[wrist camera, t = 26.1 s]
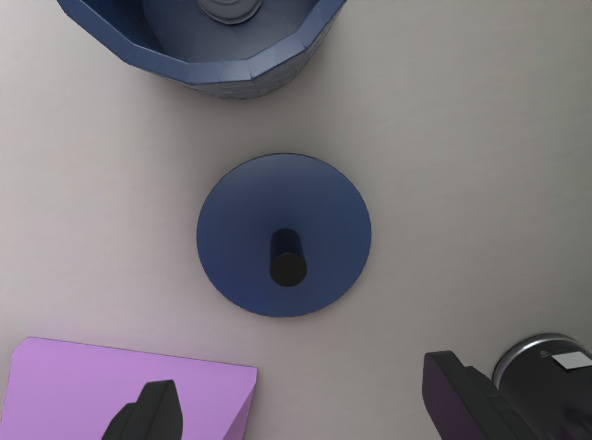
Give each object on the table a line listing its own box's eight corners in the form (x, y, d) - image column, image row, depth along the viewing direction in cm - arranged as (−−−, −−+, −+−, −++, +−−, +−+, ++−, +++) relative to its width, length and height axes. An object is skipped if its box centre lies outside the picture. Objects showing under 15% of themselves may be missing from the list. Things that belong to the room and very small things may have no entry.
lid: (368, 301, 28) (392, 347, 22) (213, 317, 27) (198, 368, 22) (367, 144, 24) (395, 152, 18) (185, 160, 23) (156, 173, 18)
